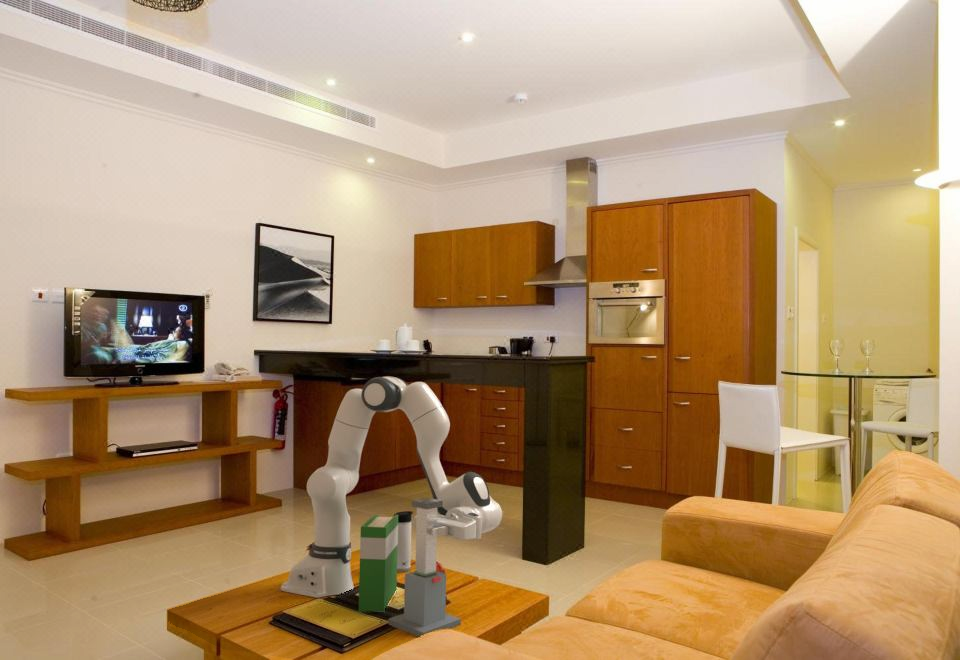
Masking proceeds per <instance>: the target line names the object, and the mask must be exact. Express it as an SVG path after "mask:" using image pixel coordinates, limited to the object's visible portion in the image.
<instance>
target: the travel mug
mask: <svg viewBox="0 0 960 660" xmlns="http://www.w3.org/2000/svg"><path fill="white" fill-rule="evenodd" d="M413 514H414V512H413V511H412V510H411V511H409V510H405V511H399V512H396V513H394V514H393V517H394V516H395V515H398V549H397V573H408V572H410V570H411V564H412V563H411V562H412V561H411V558H412V555H411V554H412V515H413Z"/></svg>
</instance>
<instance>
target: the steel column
mask: <svg viewBox="0 0 960 660" xmlns="http://www.w3.org/2000/svg"><path fill="white" fill-rule="evenodd" d="M411 507H414V508H416V515H417V522H416V529H415V531H416V532H415V533H416V534H415V566H414V567H415V570H414V571H415V575H418V576H421V577H424V578H426V577H430V576H433V575H436V561H437V549H438V548H437V544H438V542H437V541H438V535H435V536H433V535H430V534H429V532H430V531H429V530H430V528H437V514H438V511H437V507H443V501H442V500H437V499H433V497H432V498H431V497H426V498H425V497H424V498H418V499H413V500H411Z"/></svg>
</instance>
